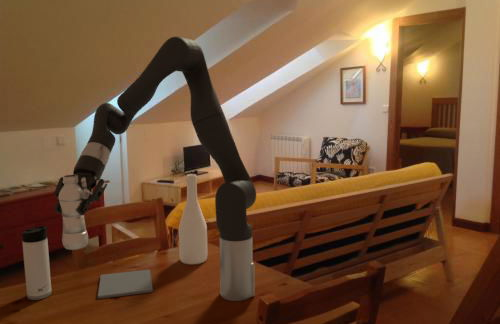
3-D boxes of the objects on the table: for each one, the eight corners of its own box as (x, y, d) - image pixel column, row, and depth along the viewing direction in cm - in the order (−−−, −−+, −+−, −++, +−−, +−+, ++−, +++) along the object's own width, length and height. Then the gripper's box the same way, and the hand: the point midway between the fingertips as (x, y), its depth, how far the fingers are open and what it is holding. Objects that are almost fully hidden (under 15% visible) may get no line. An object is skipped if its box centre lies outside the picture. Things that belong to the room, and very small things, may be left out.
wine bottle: (190, 267, 141) (187, 178, 136) (174, 259, 148) (171, 174, 143) (212, 260, 147) (211, 174, 143) (196, 253, 154) (194, 171, 150)
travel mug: (46, 300, 119) (40, 231, 116) (22, 300, 119) (16, 231, 116) (56, 290, 125) (51, 224, 122) (34, 290, 125) (28, 224, 122)
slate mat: (150, 271, 138) (149, 269, 138) (152, 292, 124) (152, 289, 124) (100, 277, 134) (100, 274, 134) (97, 298, 120) (97, 296, 120)
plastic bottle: (77, 253, 112) (71, 178, 109) (57, 250, 114) (51, 177, 111) (94, 245, 118) (89, 174, 115) (74, 242, 120) (69, 173, 117)
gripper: (64, 153, 121) (37, 204, 112) (109, 154, 118) (85, 207, 108) (77, 168, 127) (53, 218, 118) (120, 170, 124) (99, 221, 114)
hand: (69, 212), depth 113 cm, fingers closed on plastic bottle, 6 cm apart
